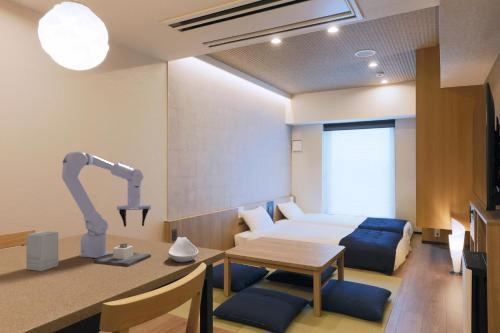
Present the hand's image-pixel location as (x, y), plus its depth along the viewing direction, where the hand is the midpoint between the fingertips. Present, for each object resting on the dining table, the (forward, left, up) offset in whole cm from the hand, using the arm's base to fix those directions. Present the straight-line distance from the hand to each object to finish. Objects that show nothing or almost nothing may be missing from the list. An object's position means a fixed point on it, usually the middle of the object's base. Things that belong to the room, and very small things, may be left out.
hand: (134, 225), depth 149 cm
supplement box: (-14, -34, -11) cm, 38 cm away
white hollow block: (+7, -16, -9) cm, 20 cm away
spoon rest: (+27, -4, -11) cm, 29 cm away
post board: (+7, -16, -10) cm, 20 cm away
